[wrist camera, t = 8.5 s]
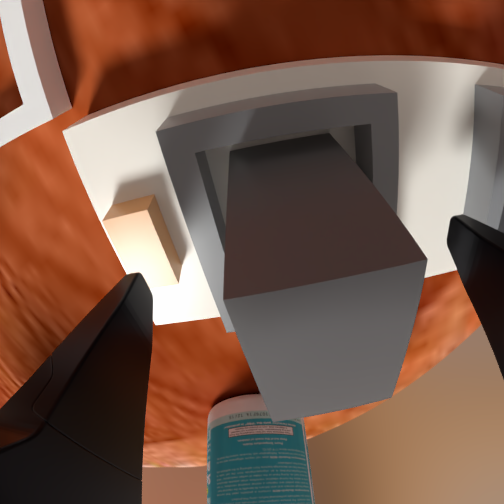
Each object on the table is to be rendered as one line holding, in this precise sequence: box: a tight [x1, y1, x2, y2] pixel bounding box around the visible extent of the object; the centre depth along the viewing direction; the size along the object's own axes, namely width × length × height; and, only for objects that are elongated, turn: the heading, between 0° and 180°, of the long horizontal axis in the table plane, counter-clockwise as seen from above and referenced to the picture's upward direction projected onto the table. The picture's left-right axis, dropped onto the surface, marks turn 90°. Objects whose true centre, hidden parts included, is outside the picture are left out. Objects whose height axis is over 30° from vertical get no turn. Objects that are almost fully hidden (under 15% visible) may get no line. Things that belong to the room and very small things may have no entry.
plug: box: [223, 133, 428, 422], centre depth 8 cm, size 3×4×6 cm, turn 12°
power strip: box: [62, 55, 504, 333], centre depth 10 cm, size 21×9×4 cm, turn 101°
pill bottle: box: [207, 394, 315, 504], centre depth 18 cm, size 8×7×14 cm
